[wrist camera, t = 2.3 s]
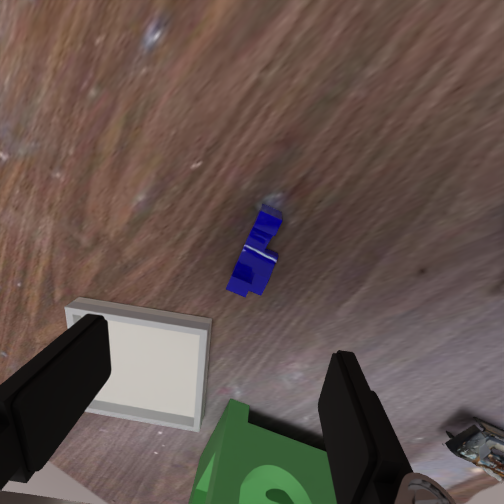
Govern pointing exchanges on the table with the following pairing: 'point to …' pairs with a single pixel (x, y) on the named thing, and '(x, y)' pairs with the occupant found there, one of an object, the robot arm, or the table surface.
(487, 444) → the silver rectangular box
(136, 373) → the tray
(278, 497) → the green cradle stand
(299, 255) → the table surface
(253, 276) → the cable holder
